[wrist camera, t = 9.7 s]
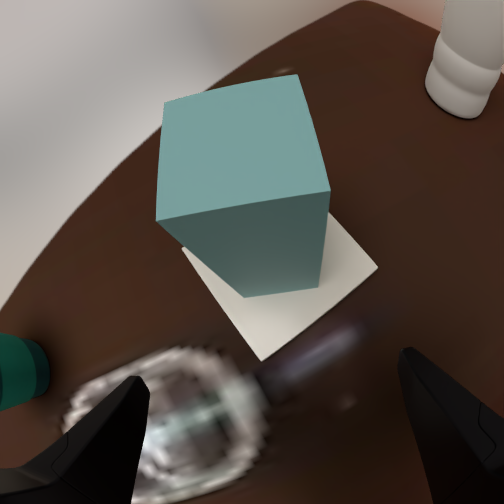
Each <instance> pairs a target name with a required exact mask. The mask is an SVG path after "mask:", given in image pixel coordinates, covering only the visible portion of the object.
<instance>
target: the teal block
mask: <svg viewBox="0 0 504 504" xmlns="http://www.w3.org/2000/svg"><path fill="white" fill-rule="evenodd" d="M330 192H331V190H330V186H329V182H328V178H327V174H326V170H325V166H324V162H323V159H322V155H321V151H320V148H319V144H318V140H317V137H316V133H315V130H314V126H313V123H312V119H311V116H310V113H309V110H308V106H307V103H306V100H305V97H304V93H303V90H302V87H301V84H300V81H299V78H298V75H290V76H283V77H276V78H270V79H264V80H258V81H252V82H247V83H242V84H237V85H232V86H227V87H223V88H218V89H214V90H210V91H206V92H202V93H198V94H194V95H190V96H186V97H183V98H179V99H175V100H172V101H169V102H166V103H164V112H163V122H162V131H161V142H160V154H159V168H158V184H157V205H156V221H157V222H158V223H159V224H160V225H161V226H162V227H163V228H164V229H165V230H166V231H168V232H169V233H170V234H171V235H172V236H173V237H174V238H175V239H177V240H178V241H179V242H180V243H181V244H182V245H183V246H184V247H186V248H187V249H188V250H189V251H190V252H191V253H192V254H193V255H195V256H196V257H197V258H198V259H199V260H200V261H201V262H203V263H204V264H205V265H206V266H207V267H208V268H209V269H211V270H212V271H213V272H214V273H215V274H216V275H218V276H219V277H220V278H221V279H222V280H223V281H225V282H226V283H227V284H228V285H229V286H230V287H232V288H233V289H234V290H235V291H236V292H237V293H239V294H240V295H241V296H242V297H243V298H248V297H255V296H263V295H270V294H277V293H285V292H292V291H299V290H305V289H312V288H318V284H319V278H320V271H321V264H322V257H323V250H324V243H325V235H326V227H327V219H328V210H329V201H330Z"/></svg>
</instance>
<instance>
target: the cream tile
mask: <svg viewBox="0 0 504 504" xmlns="http://www.w3.org/2000/svg"><path fill="white" fill-rule="evenodd" d="M182 250H183V251H184V253H185V254H186V256H187V257H188V259H189V260H190V262H191V263H192V265H193V266H194V268H195V269H196V271H197V272H198V274H199V275H200V277H201V278H202V280H203V281H204V283H205V284H206V285H207V287H208V288H209V290H210V291H211V293H212V294H213V296H214V297H215V298H216V300H217V301H218V303H219V304H220V306H221V307H222V308H223V310H224V311H225V313H226V314H227V315H228V317H229V318H230V320H231V321H232V322H233V324H234V325H235V327H236V328H237V329H238V331H239V332H240V333H241V335H242V336H243V338H244V339H245V340H246V342H247V343H248V344H249V346H250V347H251V348H252V350H253V351H254V353H255V354H256V355H257V357H258V358H259V359H260V361H264V360H266V359H267V358H268V357H270V356H271V355H272V354H274V353H275V352H277V351H278V350H279V349H281V348H282V347H283V346H285V345H286V344H287V343H289V342H290V341H291V340H293V339H294V338H295V337H296V336H298V335H299V334H300V333H302V332H303V331H304V330H305V329H307V328H308V327H309V326H311V325H312V324H313V323H314V322H316V321H317V320H318V319H319V318H321V317H322V316H323V315H324V314H326V313H327V312H328V311H329V310H331V309H332V308H333V307H334V306H335V305H337V304H338V303H339V302H340V301H341V300H343V299H344V298H345V297H346V296H347V295H349V294H350V293H351V292H352V291H353V290H354V289H356V288H357V287H358V286H359V285H360V284H361V283H363V282H364V281H365V280H366V279H367V278H368V277H369V276H371V275H372V274H373V273H374V272H375V271H376V270H377V268H378V267H377V265H376V264H375V263H374V262H373V261H372V260H371V258H370V257H369V256H368V255H367V254H366V253H365V252H364V250H363V249H362V248H361V247H360V246H359V245H358V244H357V243H356V241H355V240H354V239H353V238H352V237H351V236H350V235H349V234H348V233H347V232H346V230H345V229H344V228H343V227H342V226H341V225H340V224H339V223H338V222H337V221H336V220H335V218H334V217H333V216H332V215H331V214H330V213H329V212H328V219H327V227H326V235H325V243H324V250H323V257H322V264H321V271H320V278H319V284H318V288H312V289H305V290H299V291H292V292H285V293H277V294H270V295H263V296H255V297H248V298H243V297H242V296H241V295H240V294H239V293H237V292H236V291H235V290H234V289H233V288H232V287H230V286H229V285H228V284H227V283H226V282H225V281H223V280H222V279H221V278H220V277H219V276H218V275H216V274H215V273H214V272H213V271H212V270H211V269H209V268H208V267H207V266H206V265H205V264H204V263H203V262H201V261H200V260H199V259H198V258H197V257H196V256H195V255H193V254H192V253H191V252H190V251H189V250H188V249H187V248H186V247H183V248H182Z"/></svg>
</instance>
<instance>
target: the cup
mask: <svg viewBox="0 0 504 504" xmlns="http://www.w3.org/2000/svg"><path fill="white" fill-rule="evenodd" d="M49 381H50V367H49V362H48V359H47V356H46V354H45V352H44V351H43V349H42V348H41V347H40V346H39V345H38V344H37V343H35V342H34V341H32V340H29V339H23V338H18V337H16V336H13V335H8V334H3V333H0V411H2V410H5V409H8V408H11V407H14V406H17V405H19V404H22V403H25V402H27V401H29V400H30V399H32V398H35V397H37V396H40V395H42V394H43V393H45V391H46V390H47V388H48V385H49Z"/></svg>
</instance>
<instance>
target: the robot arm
mask: <svg viewBox="0 0 504 504" xmlns="http://www.w3.org/2000/svg"><path fill="white" fill-rule="evenodd" d="M398 374H399V378H400V383H401V387H402V392H403V397H404V401H405V406H406V410H407V414H408V417H409V420H410V423H411V426H412V429H413V432H414V435H415V439H416V442H417V445H418V448H419V452H420V455H421V459H422V462H423V466H424V469H425V473H426V476H427V480H428V484H429V488H430V492H431V496H432V500H433V504H504V418H502V417H501V416H499V415H498V414H496V413H495V412H494V411H493V410H491V409H490V408H489V407H487V406H486V405H485V404H484V403H483V402H481V403H480V400H479V399H477V398H476V397H475V396H474V395H473V394H471V393H470V392H469V391H468V390H466V389H465V388H464V387H463V386H461V385H460V384H459V383H458V382H456V381H455V380H454V379H453V378H451V377H450V376H449V375H448V374H446V373H445V372H444V371H443V370H441V369H440V368H439V367H438V366H436V365H435V364H434V363H433V362H431V361H430V360H429V359H428V358H426V357H425V356H424V355H422V354H421V353H420V352H419V351H417V350H416V349H415V348H413V347H408V348H403V349H401V351H400V354H399V361H398ZM149 400H150V392H149V389H148V387H147V386H146V384H145V383H144V381H143V379H142V378H141V377H140V376H129V377H128V378H127V379H126V380H124V381H123V382H122V383H121V384H120V385H119V386H118V387H117V388H116V389H114V390H113V391H112V392H111V393H110V394H109V395H108V396H107V397H106V398H104V399H103V400H102V401H101V402H100V403H99V404H98V405H97V406H95V407H94V408H93V409H92V410H91V411H90V412H89V413H88V414H86V415H85V416H84V417H83V418H82V419H81V420H80V421H79V422H77V423H76V424H75V425H74V426H73V427H72V428H71V429H70V430H68V432H66V433H65V434H64V435H63V436H62V437H60V438H59V439H58V440H57V441H56V442H54V443H53V444H52V445H51V446H49V447H48V448H47V449H45V450H44V451H43V452H41V453H40V454H38V455H37V456H36V457H34V458H33V459H32V460H30V461H29V462H27V463H26V464H24V465H22V466H20V467H17V468H8V469H0V504H131V500H132V495H133V489H134V484H135V479H136V474H137V469H138V464H139V460H140V455H141V450H142V446H143V441H144V437H145V432H146V426H147V417H148V408H149Z"/></svg>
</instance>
